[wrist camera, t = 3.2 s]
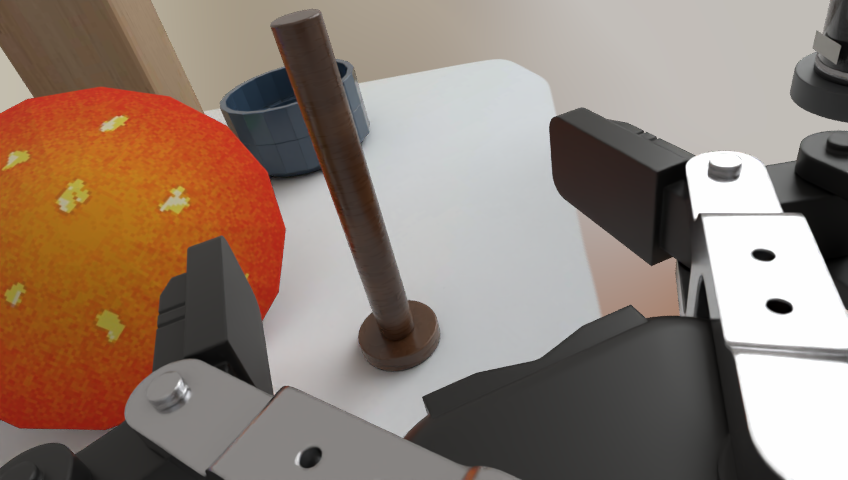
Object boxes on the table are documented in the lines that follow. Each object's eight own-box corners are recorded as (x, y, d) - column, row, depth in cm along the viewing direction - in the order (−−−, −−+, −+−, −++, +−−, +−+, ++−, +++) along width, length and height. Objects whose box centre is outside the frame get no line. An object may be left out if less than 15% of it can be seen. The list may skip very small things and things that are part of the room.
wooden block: (136, 168, 61) (26, -19, 49) (221, 146, 61) (131, -46, 49) (107, 213, 53) (-33, 1, 41) (205, 187, 53) (92, -31, 41)
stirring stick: (424, 301, 33) (339, -8, 22) (452, 350, 29) (367, 8, 19) (354, 330, 32) (232, 23, 22) (374, 384, 28) (240, 46, 18)
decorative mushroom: (3, 352, 37) (-179, 167, 29) (274, 223, 44) (193, 42, 36) (-18, 521, 26) (-323, 302, 18) (348, 313, 33) (256, 83, 25)
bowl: (354, 109, 62) (336, 49, 58) (386, 150, 51) (368, 80, 47) (244, 146, 59) (217, 87, 55) (254, 197, 49) (222, 127, 45)
